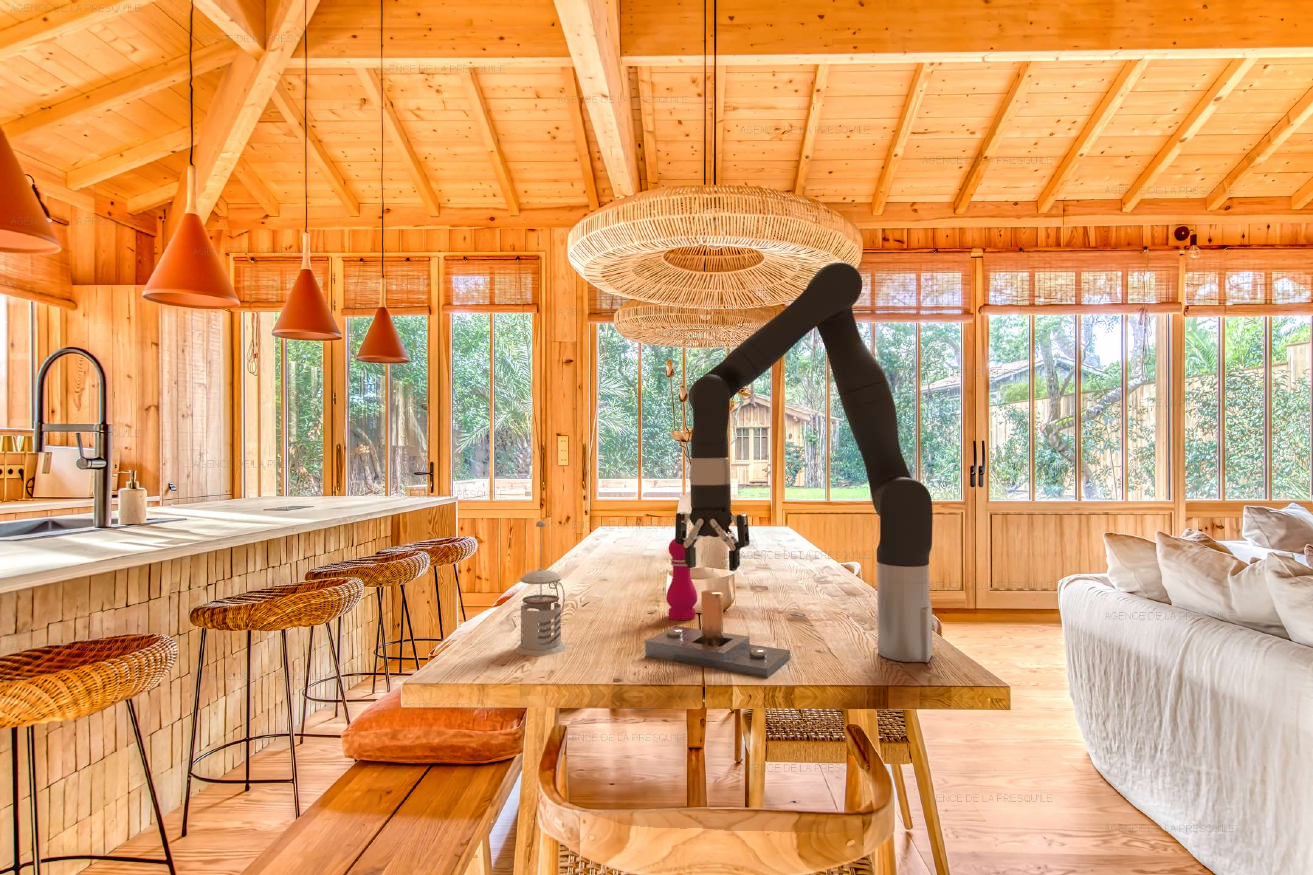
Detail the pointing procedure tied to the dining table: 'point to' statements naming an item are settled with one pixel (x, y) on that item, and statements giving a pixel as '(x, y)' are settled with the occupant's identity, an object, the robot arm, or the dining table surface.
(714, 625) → the copper pin
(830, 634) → the dining table surface
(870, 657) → the dining table surface
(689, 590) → the pepper mill
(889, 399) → the robot arm
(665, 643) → the upper link
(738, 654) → the lower link
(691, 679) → the dining table surface
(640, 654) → the dining table surface
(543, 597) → the french press
